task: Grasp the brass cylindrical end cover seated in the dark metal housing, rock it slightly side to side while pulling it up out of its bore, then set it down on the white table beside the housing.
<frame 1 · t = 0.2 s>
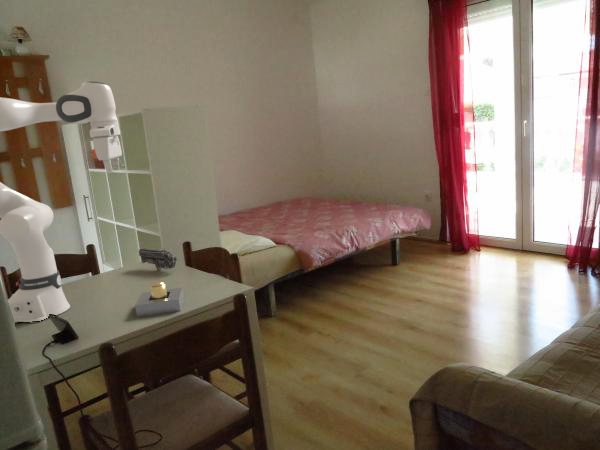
hand: (113, 171, 164), 47 cm above the table, fingers open, 8 cm apart
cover: (161, 307, 162), point 1 cm above the table, touching housing
housing: (162, 309, 162), on the table
toy gun: (159, 270, 209), on the table
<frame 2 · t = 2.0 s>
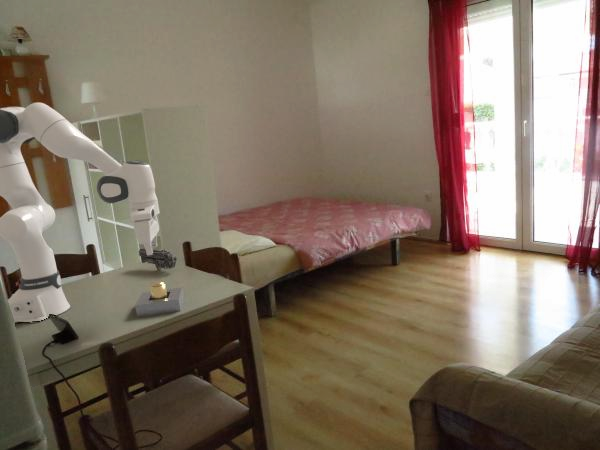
hand: (152, 250, 158), 21 cm above the table, fingers open, 8 cm apart
nothing on the table moved.
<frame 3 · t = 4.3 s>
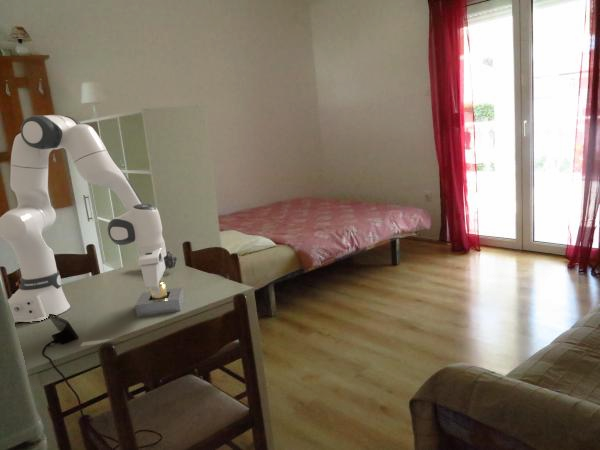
hand: (158, 291, 161), 7 cm above the table, fingers closed on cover, 5 cm apart
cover: (161, 307, 162), point 1 cm above the table, touching gripper, housing
everything else where it was.
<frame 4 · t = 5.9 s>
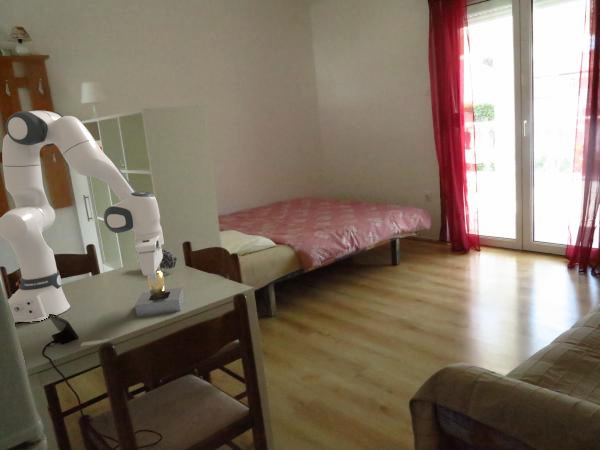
hand: (156, 280, 160), 11 cm above the table, fingers closed on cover, 5 cm apart
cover: (158, 295, 161), point 5 cm above the table, touching gripper
everything else where it was.
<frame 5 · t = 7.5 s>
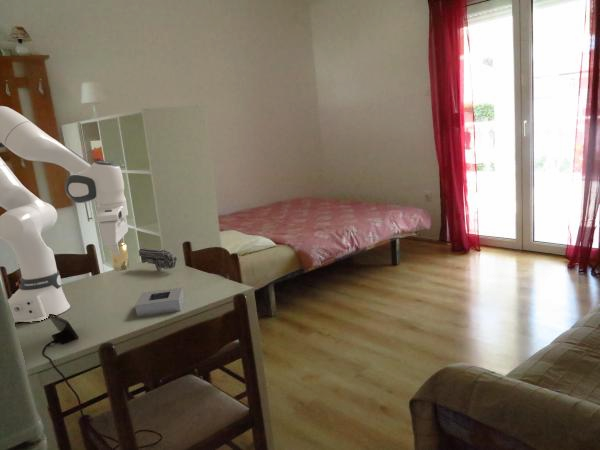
hand: (119, 252, 157), 22 cm above the table, fingers closed on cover, 5 cm apart
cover: (121, 268, 158), point 16 cm above the table, touching gripper
everything else where it was.
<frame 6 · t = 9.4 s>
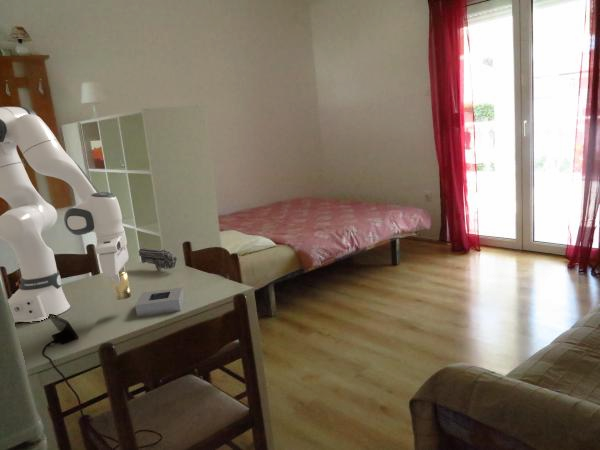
hand: (120, 281, 158), 12 cm above the table, fingers closed on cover, 5 cm apart
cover: (123, 297, 159), point 6 cm above the table, touching gripper
everything else where it was.
when the fingers open (7 cm above the table, at t = 11.1 s): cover drops 1 cm, on the table.
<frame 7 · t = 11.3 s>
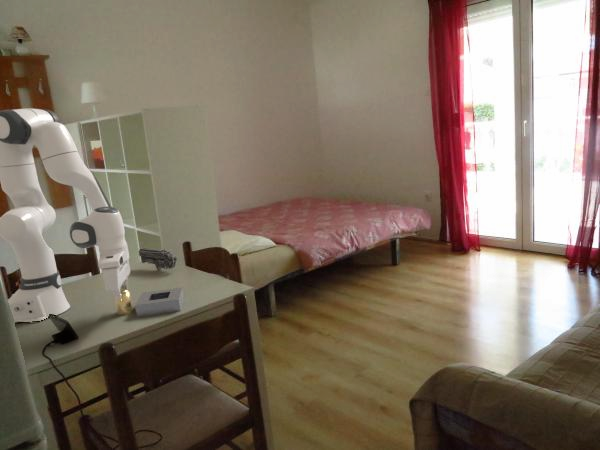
hand: (122, 295, 159), 7 cm above the table, fingers open, 7 cm apart
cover: (125, 314, 161), on the table
everything else where it was.
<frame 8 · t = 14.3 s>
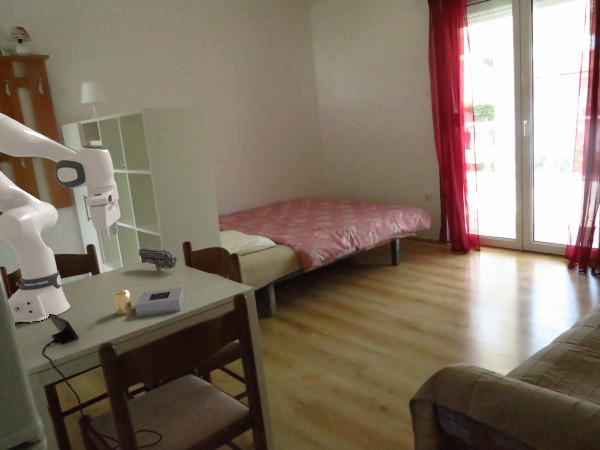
hand: (111, 237, 155), 27 cm above the table, fingers open, 8 cm apart
nothing on the table moved.
at the end: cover inside the target area (0.0 cm from its centre), on the table; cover tilted 0°; the gripper is holding nothing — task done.
